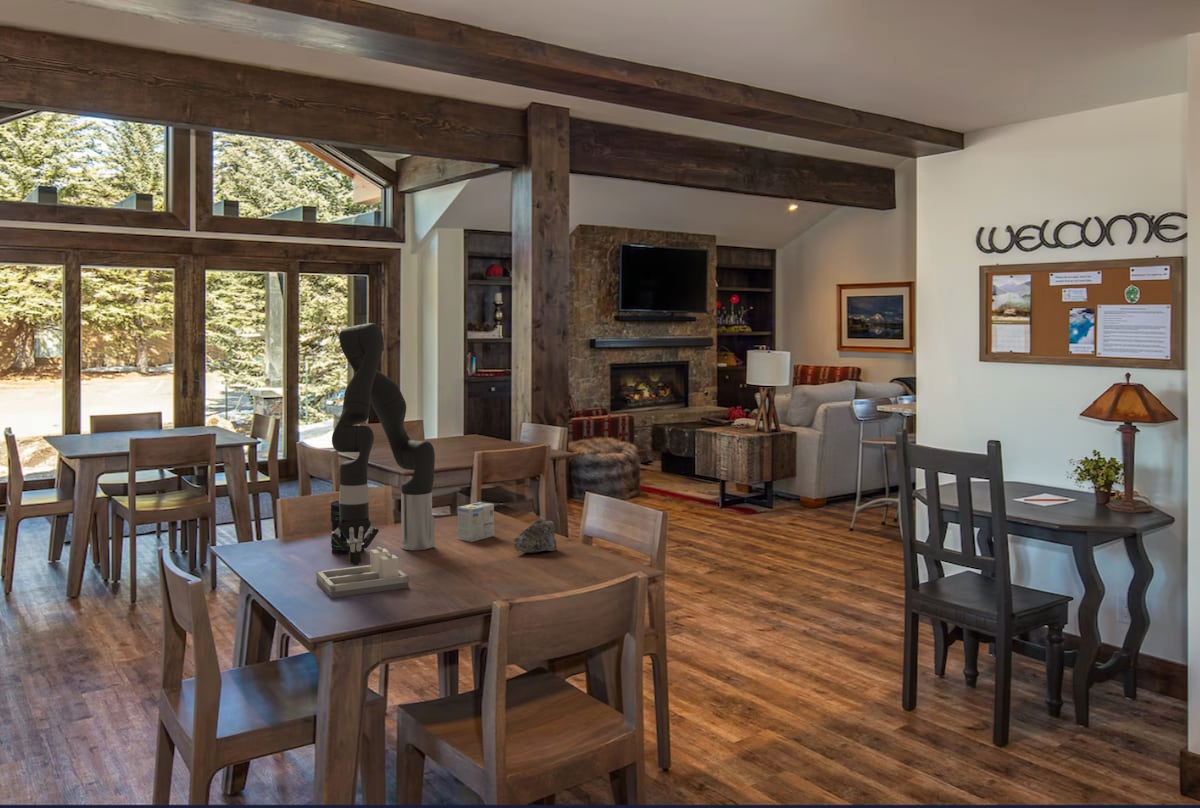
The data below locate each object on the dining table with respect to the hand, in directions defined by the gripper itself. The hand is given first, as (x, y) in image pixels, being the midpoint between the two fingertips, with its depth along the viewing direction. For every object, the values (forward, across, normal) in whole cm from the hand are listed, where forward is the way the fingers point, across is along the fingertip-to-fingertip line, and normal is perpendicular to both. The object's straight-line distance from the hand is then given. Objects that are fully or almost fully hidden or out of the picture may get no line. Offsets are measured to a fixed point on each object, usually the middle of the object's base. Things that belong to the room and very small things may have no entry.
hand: (354, 564), depth 247 cm
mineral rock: (+5, -57, -8) cm, 58 cm away
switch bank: (+5, -1, +4) cm, 6 cm away
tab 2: (+3, -7, +8) cm, 11 cm away
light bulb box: (+5, -48, -33) cm, 59 cm away
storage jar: (+5, -7, -35) cm, 36 cm away
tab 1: (+3, -7, 0) cm, 7 cm away
